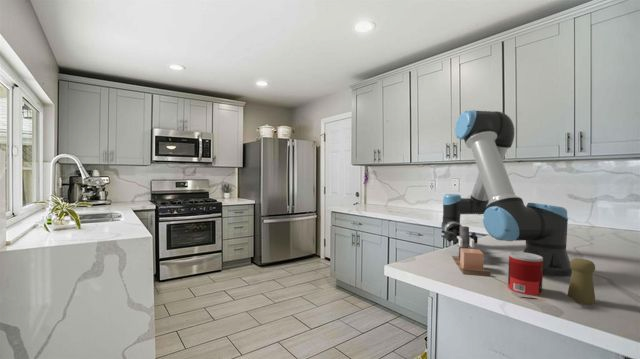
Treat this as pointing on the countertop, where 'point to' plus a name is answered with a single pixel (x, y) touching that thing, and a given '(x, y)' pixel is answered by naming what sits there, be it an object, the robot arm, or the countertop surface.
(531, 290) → the canned food
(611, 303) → the countertop surface
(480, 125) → the robot arm
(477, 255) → the terracotta block
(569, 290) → the cork
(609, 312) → the countertop surface
